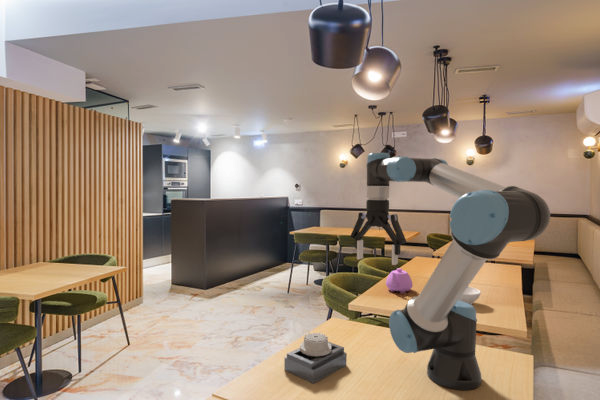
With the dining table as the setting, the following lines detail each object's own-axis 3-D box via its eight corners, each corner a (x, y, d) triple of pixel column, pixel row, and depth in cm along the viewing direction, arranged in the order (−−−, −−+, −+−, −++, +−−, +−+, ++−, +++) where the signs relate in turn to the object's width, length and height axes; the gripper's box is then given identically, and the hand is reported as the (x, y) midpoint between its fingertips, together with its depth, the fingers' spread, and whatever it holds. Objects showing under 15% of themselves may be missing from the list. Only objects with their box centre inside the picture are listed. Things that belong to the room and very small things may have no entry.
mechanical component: (337, 349, 123) (312, 341, 129) (337, 335, 122) (313, 328, 129) (318, 360, 115) (293, 350, 121) (318, 345, 115) (293, 337, 121)
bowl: (437, 301, 193) (438, 287, 192) (460, 297, 200) (460, 284, 200) (464, 311, 178) (465, 296, 178) (487, 306, 186) (488, 291, 186)
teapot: (405, 297, 199) (406, 274, 199) (379, 293, 207) (379, 270, 206) (416, 288, 216) (417, 267, 216) (392, 285, 224) (392, 264, 223)
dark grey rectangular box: (351, 362, 126) (352, 345, 126) (313, 383, 112) (313, 365, 112) (323, 351, 134) (323, 335, 134) (284, 370, 120) (284, 352, 120)
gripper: (417, 200, 125) (416, 265, 126) (353, 197, 142) (352, 255, 143) (406, 200, 119) (405, 268, 120) (341, 198, 136) (340, 258, 137)
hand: (376, 261), depth 131 cm, fingers open, 13 cm apart
